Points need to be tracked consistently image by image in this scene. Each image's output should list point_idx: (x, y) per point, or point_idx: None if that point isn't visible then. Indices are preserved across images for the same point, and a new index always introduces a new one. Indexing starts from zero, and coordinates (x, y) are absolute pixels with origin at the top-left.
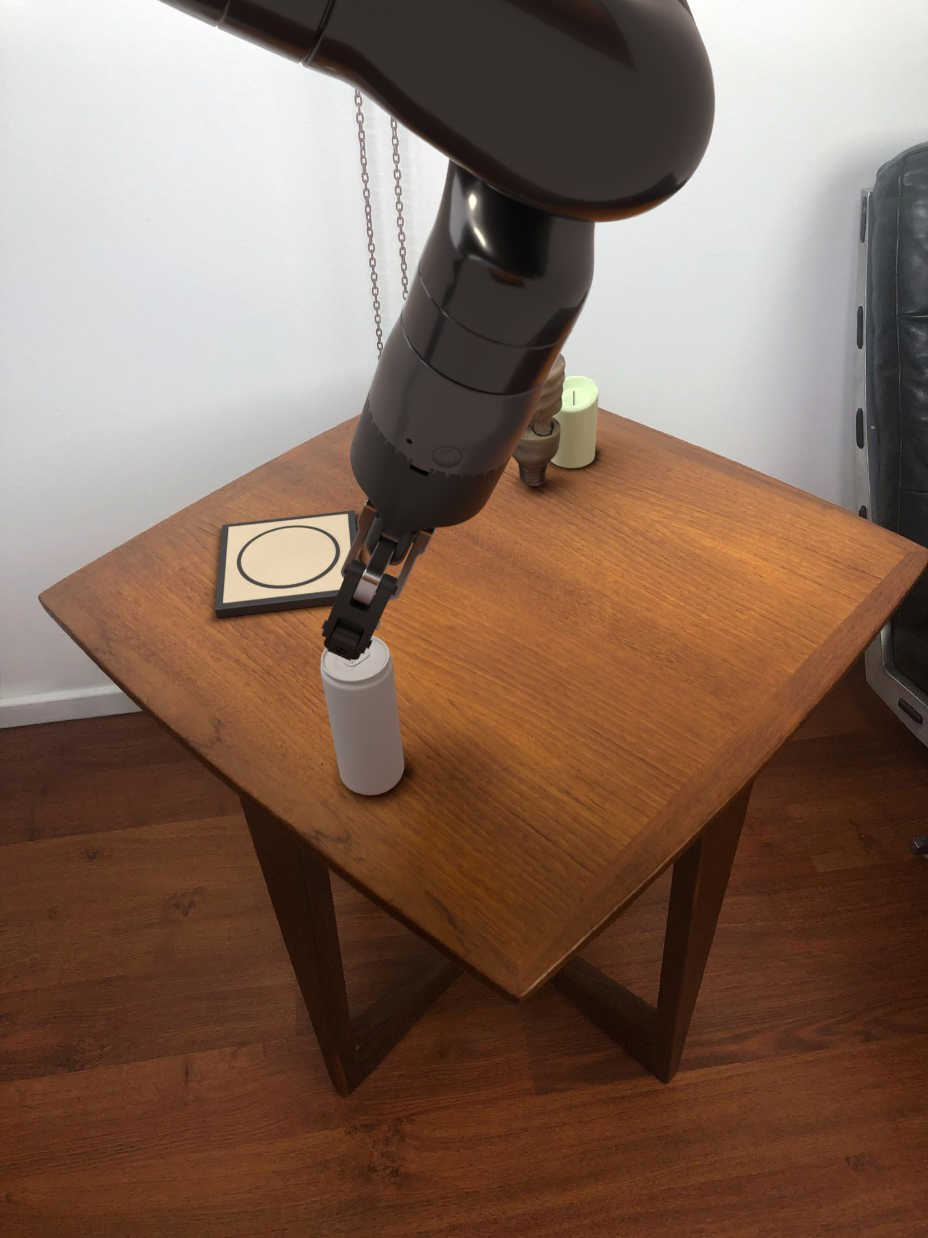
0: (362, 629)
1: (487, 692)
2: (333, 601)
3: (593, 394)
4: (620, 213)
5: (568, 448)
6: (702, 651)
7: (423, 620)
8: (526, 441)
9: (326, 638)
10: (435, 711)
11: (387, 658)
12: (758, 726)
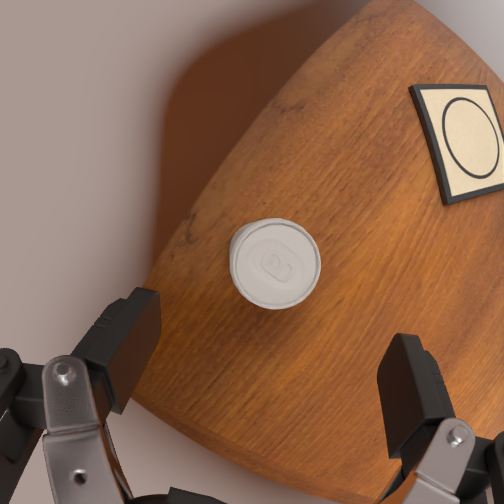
0: (23, 424)
1: (351, 328)
2: (439, 179)
3: None
4: None
5: None
6: (381, 454)
7: (426, 260)
8: None
9: (128, 298)
10: (330, 289)
11: (277, 307)
12: (315, 485)
